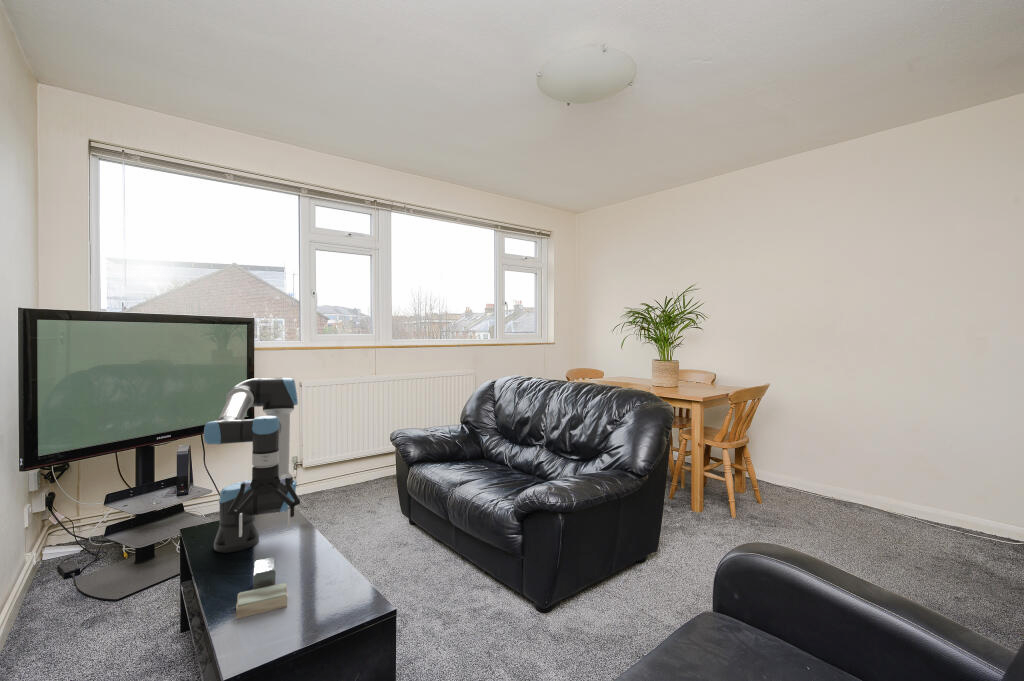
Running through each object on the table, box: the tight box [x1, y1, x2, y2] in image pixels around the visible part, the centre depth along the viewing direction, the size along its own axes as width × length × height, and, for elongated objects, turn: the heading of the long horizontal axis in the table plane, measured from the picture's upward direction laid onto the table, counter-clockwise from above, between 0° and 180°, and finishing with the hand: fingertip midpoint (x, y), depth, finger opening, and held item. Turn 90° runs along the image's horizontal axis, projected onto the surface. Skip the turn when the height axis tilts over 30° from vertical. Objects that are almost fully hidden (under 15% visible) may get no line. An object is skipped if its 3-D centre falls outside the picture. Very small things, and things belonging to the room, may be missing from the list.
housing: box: [252, 556, 276, 590], centre depth 146 cm, size 10×6×7 cm, turn 28°
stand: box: [235, 582, 288, 619], centre depth 136 cm, size 8×13×4 cm, turn 118°
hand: (265, 531), depth 146 cm, fingers open, 13 cm apart
